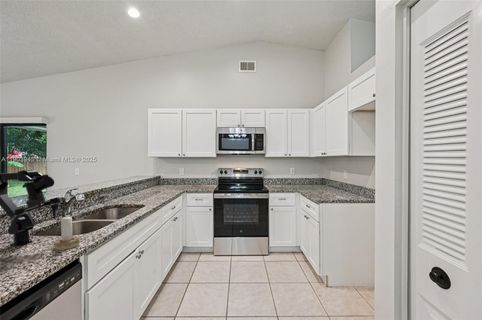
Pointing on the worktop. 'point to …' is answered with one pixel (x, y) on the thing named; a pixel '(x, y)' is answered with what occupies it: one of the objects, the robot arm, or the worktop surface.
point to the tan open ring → (66, 243)
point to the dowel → (66, 229)
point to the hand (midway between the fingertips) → (44, 222)
